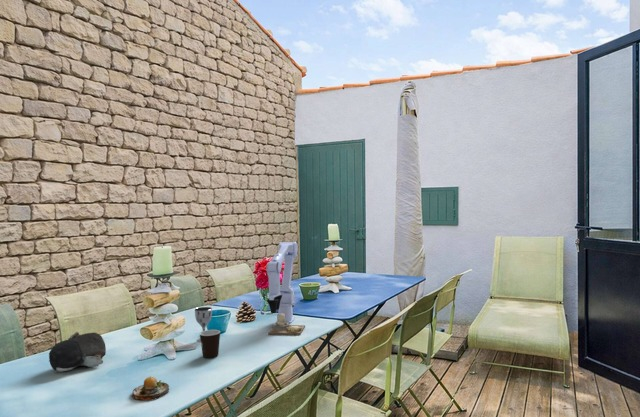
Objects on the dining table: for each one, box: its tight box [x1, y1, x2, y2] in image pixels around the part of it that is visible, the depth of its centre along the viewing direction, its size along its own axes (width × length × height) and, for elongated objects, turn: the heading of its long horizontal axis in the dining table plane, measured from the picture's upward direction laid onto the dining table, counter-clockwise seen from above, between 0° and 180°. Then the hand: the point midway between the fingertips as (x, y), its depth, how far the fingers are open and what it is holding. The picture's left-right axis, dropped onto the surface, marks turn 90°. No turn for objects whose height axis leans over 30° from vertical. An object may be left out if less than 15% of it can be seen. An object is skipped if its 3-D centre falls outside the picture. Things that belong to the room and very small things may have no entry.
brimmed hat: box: [131, 375, 170, 402], centre depth 151 cm, size 12×12×8 cm
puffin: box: [48, 331, 107, 372], centre depth 178 cm, size 20×21×13 cm
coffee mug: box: [199, 329, 221, 360], centre depth 189 cm, size 12×9×10 cm
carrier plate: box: [267, 322, 306, 336], centre depth 222 cm, size 14×16×3 cm
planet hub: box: [276, 313, 285, 326], centre depth 223 cm, size 4×4×7 cm
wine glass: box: [194, 306, 213, 343], centre depth 210 cm, size 8×8×15 cm
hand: (275, 311), depth 225 cm, fingers open, 7 cm apart
